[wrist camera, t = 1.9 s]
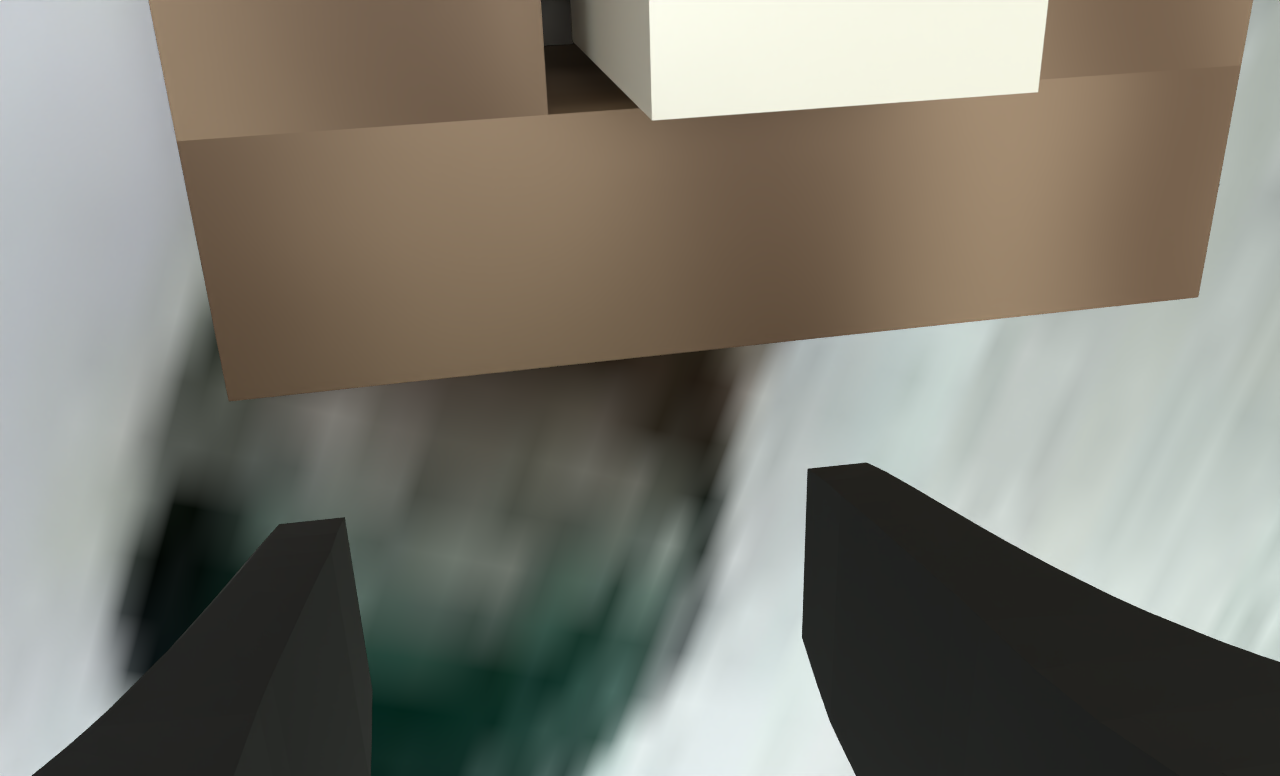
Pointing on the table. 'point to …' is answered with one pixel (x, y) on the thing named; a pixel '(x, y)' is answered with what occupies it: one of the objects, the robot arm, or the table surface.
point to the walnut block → (660, 191)
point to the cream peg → (809, 51)
